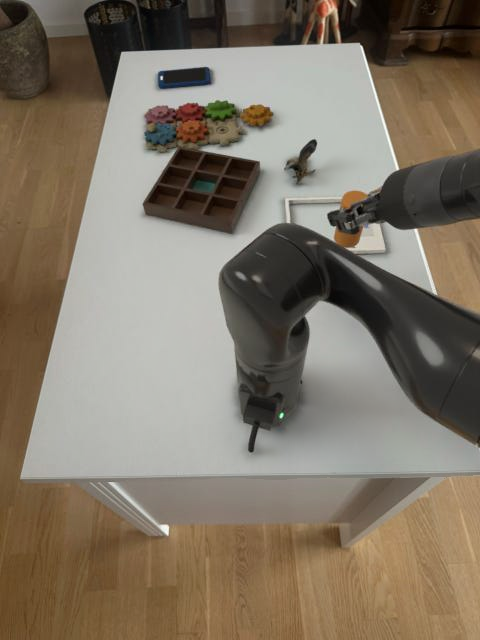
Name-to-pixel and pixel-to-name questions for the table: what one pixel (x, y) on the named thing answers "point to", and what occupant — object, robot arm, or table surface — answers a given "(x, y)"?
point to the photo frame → (370, 234)
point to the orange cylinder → (347, 200)
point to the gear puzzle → (199, 124)
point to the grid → (203, 189)
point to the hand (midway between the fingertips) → (342, 212)
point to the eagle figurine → (302, 161)
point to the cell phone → (184, 77)
